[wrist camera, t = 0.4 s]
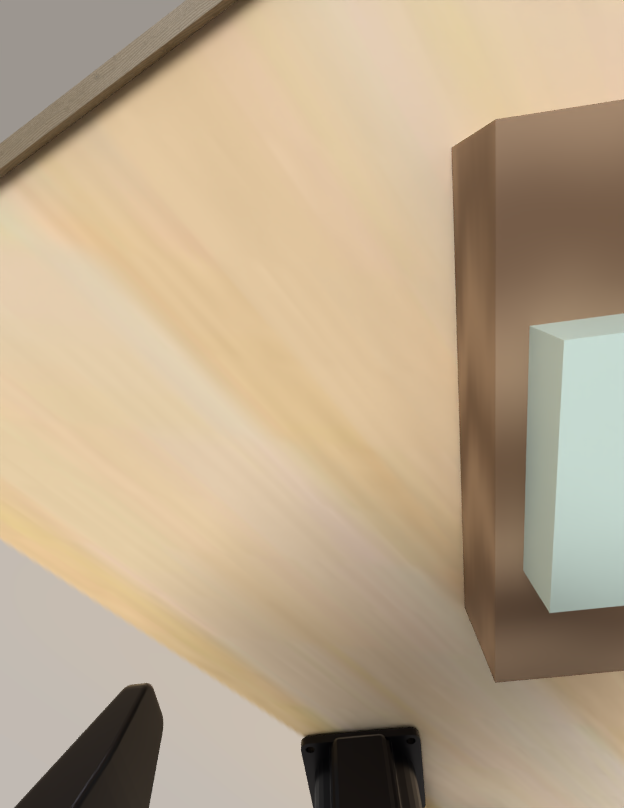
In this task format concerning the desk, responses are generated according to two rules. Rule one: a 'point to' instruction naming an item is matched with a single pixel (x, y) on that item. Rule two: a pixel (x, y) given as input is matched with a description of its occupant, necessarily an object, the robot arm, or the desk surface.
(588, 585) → the block
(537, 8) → the desk surface
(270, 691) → the desk surface
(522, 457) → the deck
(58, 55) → the thin grey panel
